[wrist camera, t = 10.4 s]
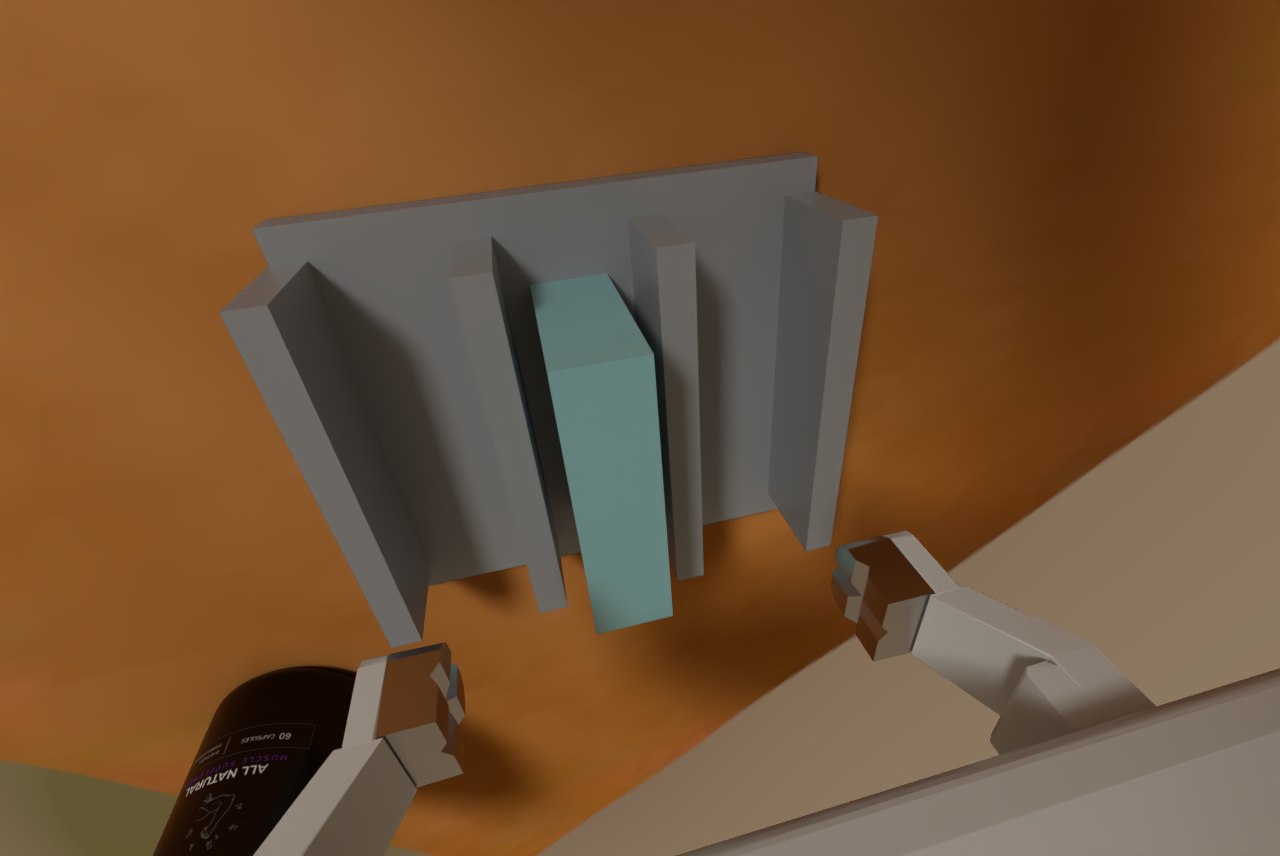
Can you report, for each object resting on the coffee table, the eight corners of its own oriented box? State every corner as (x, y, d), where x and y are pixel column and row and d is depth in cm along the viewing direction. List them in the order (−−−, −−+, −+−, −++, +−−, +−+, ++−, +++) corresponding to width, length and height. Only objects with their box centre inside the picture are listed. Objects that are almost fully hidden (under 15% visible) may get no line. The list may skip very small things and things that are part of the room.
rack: (264, 220, 16) (195, 267, 12) (803, 152, 18) (884, 174, 14) (414, 571, 23) (400, 665, 20) (778, 492, 26) (827, 563, 22)
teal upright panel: (529, 285, 17) (547, 372, 12) (607, 273, 18) (653, 354, 13) (572, 508, 22) (596, 634, 17) (632, 496, 23) (672, 615, 18)
